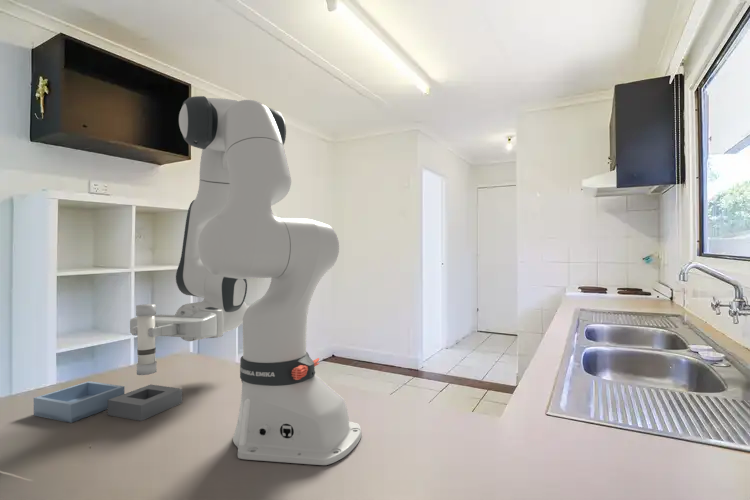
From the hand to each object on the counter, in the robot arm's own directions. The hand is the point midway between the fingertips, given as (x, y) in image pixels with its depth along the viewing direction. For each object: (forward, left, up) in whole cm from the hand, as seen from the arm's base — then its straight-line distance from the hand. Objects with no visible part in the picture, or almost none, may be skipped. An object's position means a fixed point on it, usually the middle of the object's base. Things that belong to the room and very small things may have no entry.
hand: (142, 332), depth 83 cm
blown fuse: (0, -1, -9) cm, 9 cm away
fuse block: (0, -1, -16) cm, 16 cm away
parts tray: (+13, +4, -16) cm, 21 cm away
